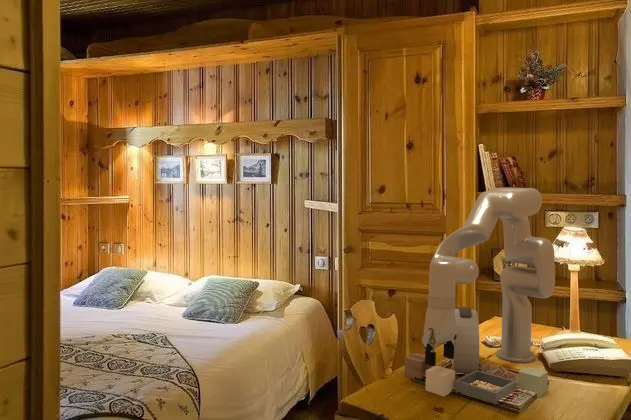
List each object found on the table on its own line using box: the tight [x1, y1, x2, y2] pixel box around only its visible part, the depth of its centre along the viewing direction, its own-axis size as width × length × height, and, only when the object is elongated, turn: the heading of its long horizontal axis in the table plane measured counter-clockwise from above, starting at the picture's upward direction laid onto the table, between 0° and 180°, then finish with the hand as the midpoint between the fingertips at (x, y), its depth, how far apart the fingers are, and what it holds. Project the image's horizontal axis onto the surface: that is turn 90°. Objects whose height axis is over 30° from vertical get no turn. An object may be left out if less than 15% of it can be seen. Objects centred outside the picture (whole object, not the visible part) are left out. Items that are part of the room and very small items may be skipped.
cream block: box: [424, 365, 456, 397], centre depth 153 cm, size 6×6×6 cm
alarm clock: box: [450, 306, 480, 374], centre depth 172 cm, size 21×8×20 cm, turn 168°
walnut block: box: [404, 352, 433, 380], centre depth 165 cm, size 6×6×6 cm
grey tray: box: [455, 369, 518, 404], centre depth 152 cm, size 13×13×4 cm
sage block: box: [517, 365, 549, 399], centre depth 153 cm, size 6×6×6 cm
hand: (439, 361), depth 153 cm, fingers open, 9 cm apart
